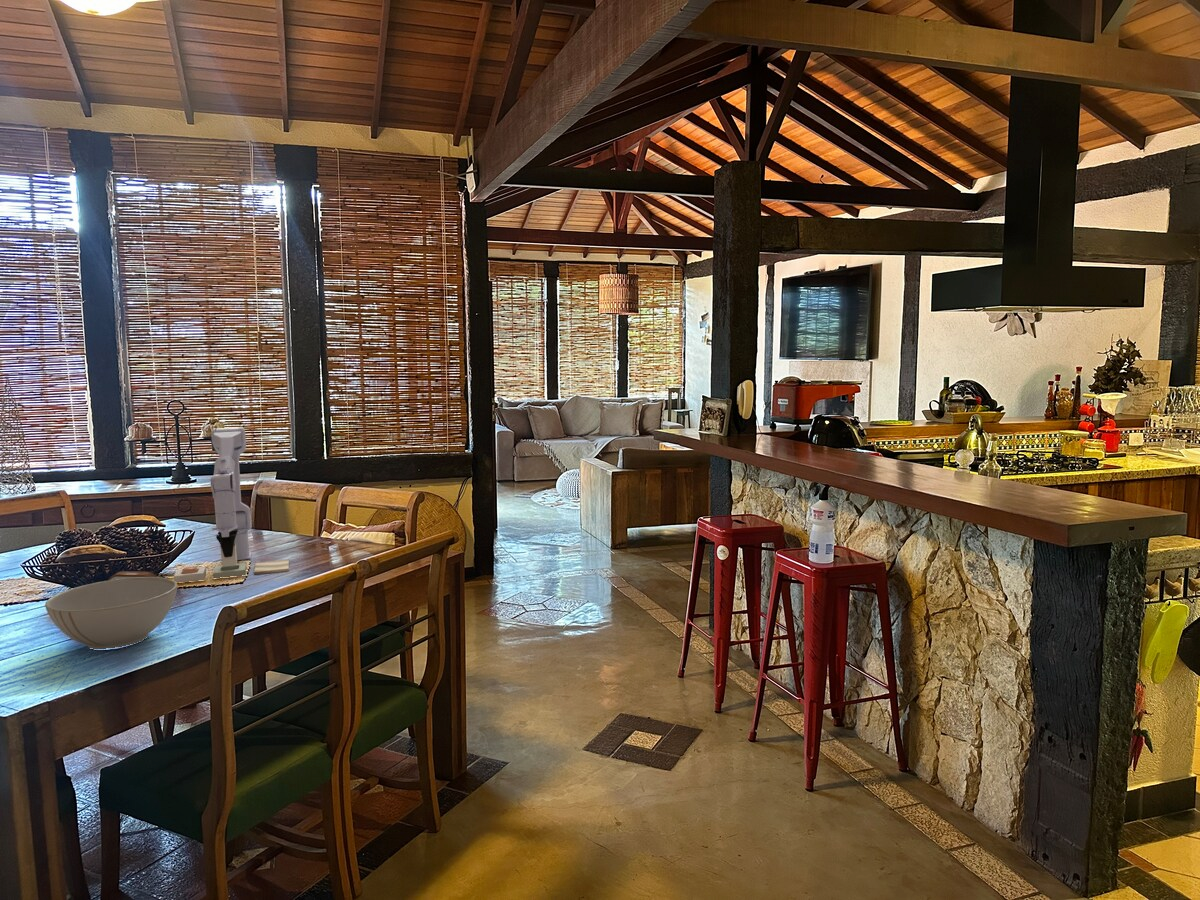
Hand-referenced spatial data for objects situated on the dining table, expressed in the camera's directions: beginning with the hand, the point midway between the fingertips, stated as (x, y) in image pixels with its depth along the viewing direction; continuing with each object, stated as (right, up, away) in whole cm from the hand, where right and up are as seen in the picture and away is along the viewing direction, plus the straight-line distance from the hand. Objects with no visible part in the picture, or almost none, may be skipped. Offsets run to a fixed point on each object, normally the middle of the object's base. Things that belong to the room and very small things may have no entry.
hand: (228, 555), depth 246 cm
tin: (-14, -10, -25) cm, 31 cm away
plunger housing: (-10, -7, -4) cm, 13 cm away
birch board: (+11, -5, +7) cm, 14 cm away
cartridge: (0, -3, 0) cm, 3 cm away
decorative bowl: (0, -13, -57) cm, 58 cm away
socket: (0, -6, +1) cm, 6 cm away
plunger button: (-10, -6, -4) cm, 12 cm away
